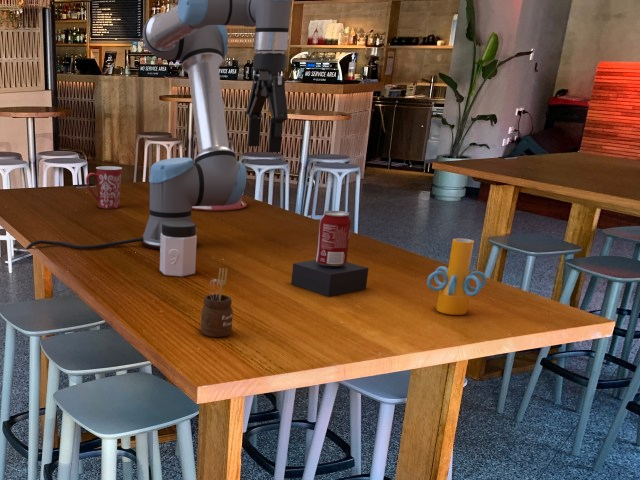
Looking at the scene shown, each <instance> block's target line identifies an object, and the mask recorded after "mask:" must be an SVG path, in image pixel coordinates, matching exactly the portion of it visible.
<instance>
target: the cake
mask: <svg viewBox="0 0 640 480" xmlns="http://www.w3.org/2000/svg"><path fill="white" fill-rule="evenodd" d="M247 206H248V203H246V202H245V201H243V196H242V197H241V199H240V200H239V201H238V202H237V203H236V204H232V205H225V206H221V205H220V206H193V207H192V210H196V211H208V212H209V211H210V212H223V211H224V212H226V211H227V212H228V211H235V210H242V209H244V208H246V207H247Z"/></svg>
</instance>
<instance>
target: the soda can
mask: <svg viewBox="0 0 640 480" xmlns="http://www.w3.org/2000/svg"><path fill="white" fill-rule="evenodd" d="M349 215H350V212H348V211H342V210H326V211H323V215H322V216H321V218H320V220H319V227H318V237H317V247H316V255H315V257H316V258H315V260H316V263H318V264H319V265H320V266H322V267H326V268H340V267H342V266H344V265H345V264H346V262H348V261H347V260H348V252H349V243H350V234H351V225H352V221H351V218H350V217H349Z"/></svg>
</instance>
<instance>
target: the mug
mask: <svg viewBox="0 0 640 480" xmlns="http://www.w3.org/2000/svg"><path fill="white" fill-rule="evenodd" d="M95 169H96V173H95V172H89V173H88V174H87V175H86V177H85V185H86V188H87V189H88V191H89V193H90V194H91V196H92V197H93V198H94V199H95V200H96V202H98V203H97V204H98V208H100V209H107V210H109V209H111V210H112V209H118V208H119V207H120V199H121V185H122V184H121V181H122V170H123V167H120V166H114V165H113V166H108V165H105V166H103V165H102V166H97V167H95ZM92 176H93V177H94V179H95V181H96V182H97V183H96V185H97V195H96V194H95V193H94V191H93V189H92V188H91V186H90V181H89V180H90V177H92Z"/></svg>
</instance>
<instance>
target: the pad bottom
mask: <svg viewBox="0 0 640 480" xmlns="http://www.w3.org/2000/svg"><path fill="white" fill-rule="evenodd" d="M367 284H368V278H367V279H362V280H357V281H351V282H346V283H340V284H335V285H326V284H323V283H320V282H317V281H314V280H311V279H307V278H304V277H301V276H298V275H295V274H292V273H291V282H290V285H293V286H296V287H297V288H298V287H299V288H301V289H304V290H308V291H311V292H313V293H317V294H320V295H323V296H326V297H333V296H338V295H343V294H349V293H354V292H359V291H364V290H367Z"/></svg>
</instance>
